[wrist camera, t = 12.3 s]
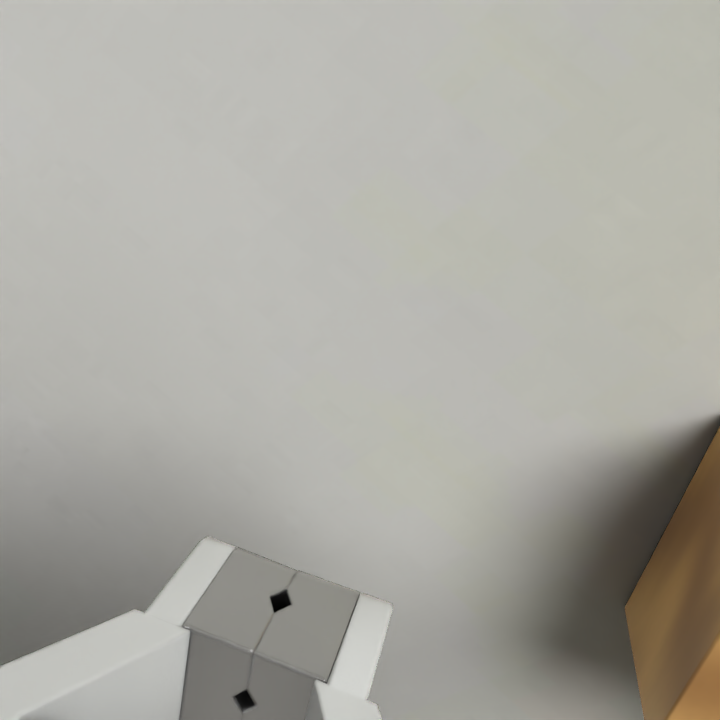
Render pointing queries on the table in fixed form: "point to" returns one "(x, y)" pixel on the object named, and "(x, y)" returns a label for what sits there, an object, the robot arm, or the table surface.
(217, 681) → the robot arm
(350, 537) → the table surface
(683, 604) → the wooden block
